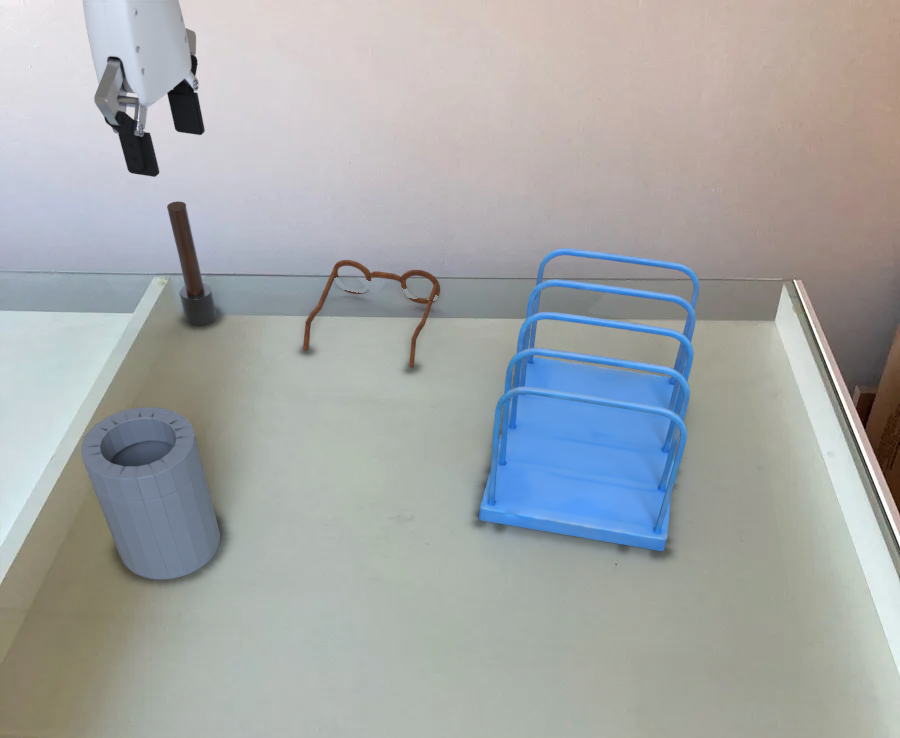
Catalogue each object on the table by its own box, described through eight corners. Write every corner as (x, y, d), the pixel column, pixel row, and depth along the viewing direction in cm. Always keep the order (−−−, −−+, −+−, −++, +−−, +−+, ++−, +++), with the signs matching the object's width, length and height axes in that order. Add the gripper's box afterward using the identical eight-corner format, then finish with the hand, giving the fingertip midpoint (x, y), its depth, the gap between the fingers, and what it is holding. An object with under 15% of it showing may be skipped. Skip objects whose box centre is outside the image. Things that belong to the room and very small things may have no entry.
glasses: (441, 307, 109) (441, 268, 105) (413, 370, 101) (412, 331, 97) (336, 291, 111) (333, 253, 107) (300, 352, 103) (295, 313, 99)
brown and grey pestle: (180, 323, 106) (153, 211, 96) (194, 306, 108) (169, 195, 98) (208, 328, 106) (184, 216, 95) (222, 312, 108) (199, 200, 97)
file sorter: (663, 555, 83) (701, 422, 72) (477, 524, 86) (484, 390, 74) (678, 391, 99) (711, 260, 87) (521, 369, 101) (533, 238, 90)
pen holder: (101, 566, 81) (59, 465, 72) (150, 500, 87) (117, 398, 78) (192, 589, 80) (161, 488, 71) (236, 520, 85) (213, 418, 76)
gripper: (133, -78, 85) (175, 113, 98) (27, -21, 75) (90, 186, 88) (205, -72, 84) (238, 122, 97) (108, -12, 73) (160, 196, 86)
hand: (168, 152), depth 92 cm, fingers open, 9 cm apart
